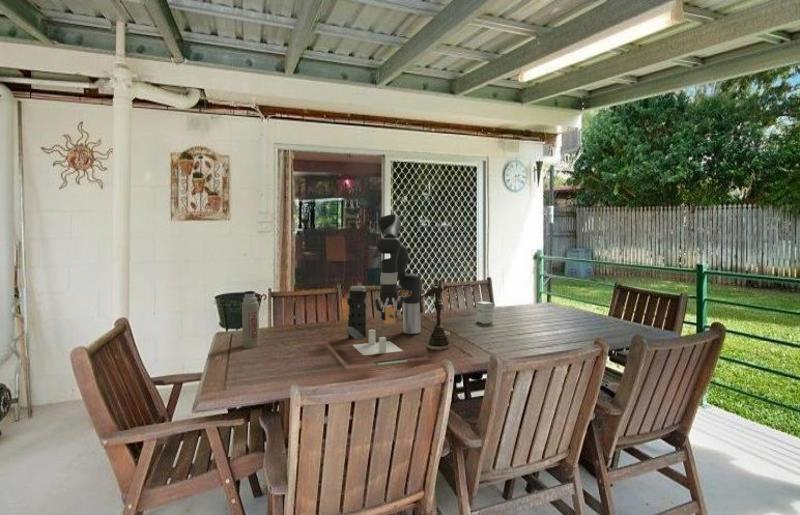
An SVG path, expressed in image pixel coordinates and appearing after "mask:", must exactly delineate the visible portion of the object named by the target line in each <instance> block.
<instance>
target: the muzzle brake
mask: <svg viewBox="0 0 800 515" xmlns="http://www.w3.org/2000/svg"><path fill="white" fill-rule="evenodd" d="M367 295H368V294H367V289H366V286H365V285H352V286H350V287H349V290H348V298H347V301H346V303H347V306H348V315H347V317H348V320H347V327H353V328H354V329H356V330H357V331H358V332H359V333H361V334H362V335H363V339H364V338H367V301H366V299H367ZM347 335H348V338H349V339H351V340H356V339H355V338H354V337H352V336H351V335H350V334H349V333H348V332H347Z"/></svg>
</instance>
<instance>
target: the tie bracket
mask: <svg viewBox="0 0 800 515" xmlns="http://www.w3.org/2000/svg"><path fill="white" fill-rule="evenodd" d="M352 346H353V348H355V349H356V350H357V351H358V352H359V353H360V354H361V355H362V356H371V355H377V354H378V355H379V354H380V355H381V354H387V353H397V352H403V351H404V350H403V349H402V348H400V347H398V346H397V345H396V344H394V343H393V342H392V341H389V340H388V341H387V337H386V336H381V337H378V342H376V330H375V329H373V328H372V329H368V343H367V342H366V343H358V344H352Z"/></svg>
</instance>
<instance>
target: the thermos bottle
mask: <svg viewBox="0 0 800 515" xmlns="http://www.w3.org/2000/svg"><path fill="white" fill-rule="evenodd" d="M255 293H256V292H255V291H254V290H246V291H244V297H243V298H242V301H243V302H241V321H242V322H241V324H242V327H241V328H242V329H241V330H242V347H243V348H246V349H247V348H248V349H250V348H257V347H259V346H260V319H259V318H260V317H259V316H260V315H259V313H260V312H259V301H258V297H257V296H256V294H255Z"/></svg>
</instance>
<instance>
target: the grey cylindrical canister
mask: <svg viewBox="0 0 800 515" xmlns="http://www.w3.org/2000/svg"><path fill="white" fill-rule="evenodd" d="M493 314H494V303H493V302H490V301H477V302H476V322H477V323H479V324H480V323H481V324H483V325H485V324H493V323H494V322H493V321H494V315H493Z"/></svg>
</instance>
